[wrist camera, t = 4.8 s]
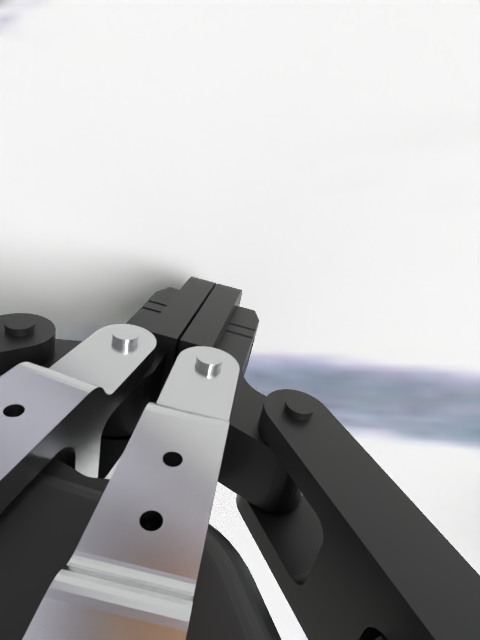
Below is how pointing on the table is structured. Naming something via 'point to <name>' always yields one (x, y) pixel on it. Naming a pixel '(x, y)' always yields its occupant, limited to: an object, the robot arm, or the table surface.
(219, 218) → the table surface
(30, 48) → the table surface
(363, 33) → the table surface
